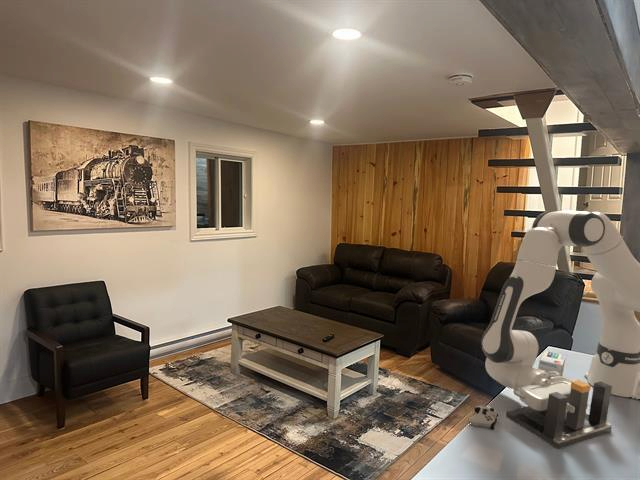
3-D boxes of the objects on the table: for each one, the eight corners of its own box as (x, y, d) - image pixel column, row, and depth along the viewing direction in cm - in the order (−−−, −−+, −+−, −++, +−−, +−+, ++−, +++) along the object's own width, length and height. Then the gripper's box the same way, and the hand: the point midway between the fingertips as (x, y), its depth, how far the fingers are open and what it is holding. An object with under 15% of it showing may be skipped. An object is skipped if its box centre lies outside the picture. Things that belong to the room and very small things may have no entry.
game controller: (473, 407, 125) (490, 397, 122) (485, 423, 124) (503, 415, 121) (465, 421, 117) (484, 412, 114) (478, 439, 115) (497, 430, 113)
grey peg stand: (556, 403, 132) (562, 364, 130) (611, 432, 118) (618, 388, 116) (505, 416, 122) (511, 374, 121) (557, 449, 108) (565, 402, 106)
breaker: (572, 422, 118) (578, 379, 116) (583, 429, 115) (590, 385, 113) (564, 424, 116) (571, 381, 115) (576, 431, 113) (583, 387, 112)
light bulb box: (539, 379, 148) (543, 349, 147) (561, 386, 145) (566, 355, 143) (534, 390, 140) (539, 359, 138) (558, 397, 136) (562, 365, 134)
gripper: (510, 380, 121) (556, 403, 109) (558, 370, 130) (605, 391, 118) (508, 401, 122) (552, 427, 110) (555, 390, 131) (602, 413, 119)
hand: (580, 408), depth 114 cm, fingers closed on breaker, 3 cm apart
